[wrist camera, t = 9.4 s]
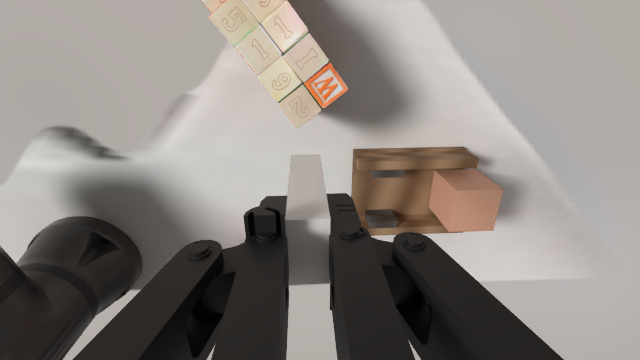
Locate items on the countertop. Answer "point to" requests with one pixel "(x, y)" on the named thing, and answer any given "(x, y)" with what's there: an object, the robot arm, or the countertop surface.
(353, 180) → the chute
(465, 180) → the block
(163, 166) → the countertop surface
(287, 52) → the stack of blocks
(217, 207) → the countertop surface
